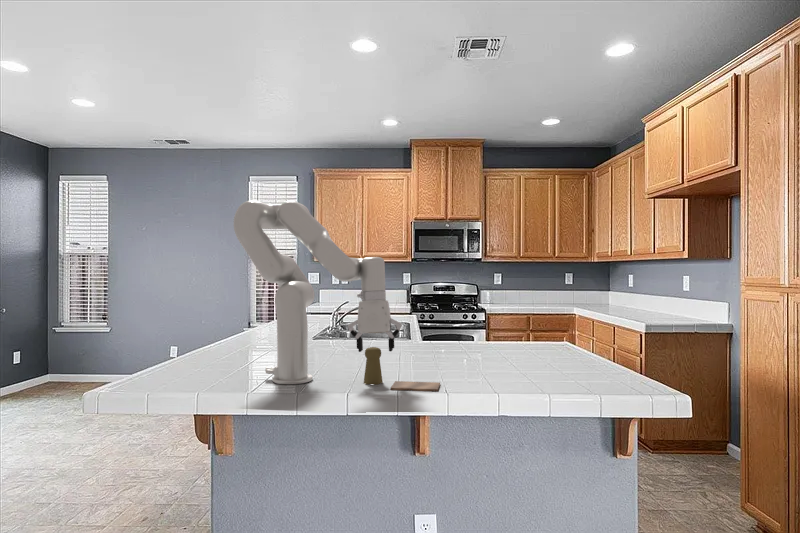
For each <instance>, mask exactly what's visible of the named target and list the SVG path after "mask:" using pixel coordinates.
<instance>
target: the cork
mask: <svg viewBox="0 0 800 533" xmlns="http://www.w3.org/2000/svg"><path fill="white" fill-rule="evenodd" d="M364 356H365V358H366V360H365V362H366V363H365V369H364V375H363V376H364V378H363V384H364V383H366V384H365V385H369V384H376V385H381V384H383V383H384V382H383V376H382V367H381V366H382V365H381V360H380V359H381V356H382V350H381V348H379V347H376V346H375V347H374V346H372V347H371V346H370V347H367V348H366V349H365V351H364ZM380 383H381V384H380Z"/></svg>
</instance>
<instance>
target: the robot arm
mask: <svg viewBox="0 0 800 533" xmlns="http://www.w3.org/2000/svg"><path fill="white" fill-rule="evenodd" d="M233 229H234V230H233V231H234V234H235V236H236V238H237V240H238V241H239V243H240V245H241V246H242V248H243V249H244V251H245V253H246V254H247V255H248V257H249V259H250V260H251V262H252V263H253V265H254V266H255V267H256V269H257V271H258V272H259V273H260V276H261V277H262V279H263V280H265V281H266V282H268V283H271V284H277V286H278V288H277V290H276V292H275V295H274V305H275V312H276V314H275V315H276V333H277V336H276V337H277V340H276V341H277V342H276V346H277V347H276V348H277V350H276V352H277V353H276V356H277V359H276V362H277V364H276V366H274V367H272V366H266V367H265V369H264V370H265V374H267V375H271V374H272V375H273V377H272V379H271V380H272V383H275V384H278V385H302V384H305V383H308V382H312V380H313V375H312V374H309V373H308V371H309V370H308V369H309V368H308V366H309V365H308V364H309V363H308V351H309V350H308V349H309V348H308V345H309V344H308V337H309V336H308V334H309V333H308V314H307V308H308V307H310V306H311V305H312V304H313V302H314V300H315V291H314V288H313V286H312V284H311V282H310V281H309V279H308V278H307V276H306V274H304V272H303V270H302V269H301V268H300V266H299V264H298V263H297V262H296V260H295V259H293V258H292V257H291V256H289V255H287V254H283V253H280V252H279V250H278V249H277V247H276V246H275V244H274V243H273V242H272V240H271V239H270V237H269V236H268V235H267V234H266V233H265V231H264V230H287V231H289V232H290V233H291V234H292V235H293V236H294V237H295V238H296V239H297V240H298V241H299V242H300V243H301V244H302V245H303V246H304V247H306V248H307V249H308V251H309V252H310V253H311V255H312V256H313V257H314V258H315V259H316V261H317V262H319V264H320V265H322V267H323V268H324V269H325V270H327V272H328V273H329V274H331V275H332V277H333V278H335V279H337V280H338V281H341V282H344V283H345V282H346V283H347V282H354V281H359V280H360V281H361V283H360V284H361V292H358V293H356V294H357V296H356V297H357V298H360V299H361V301H359V302H358V307H357V308H358V309H357V319H356V320H354V321H352V322H350V323H349V324H348V325H347V328H348V330H349V331H350V334H351V335H352V336H353V337H354V338H355V340H356V349H357V350H358V353H362V351H364V346H363V344H364V343H363V337H362V336H363V334H387V336H388V337H389V338H388V352H392V351H393V349H395V337H396V336H397V335H398V334H399V332H401V329H402V328H403V324H402V322H399V321H397V320H395V319H393V318H392V317H391V310H390V304H389V300H387V297H386V272H385V270H386V269H385V268H386V265H385V259H384V258H382V257H380V256H371V257H370V256H369V257H364V258H359V257H358V258H356V257H350V256H348V255H347V254H346V252H344V251H343V250H342V248H340V247H339V246H338V245H337V244H336V243H335V242H334V240H332V238H331V236H330V233H329V231H328V230H327V228H326V227H325V226H324V225H322V223H320V221H318V220H317V219H316V218H315V217H314V216H313V215H312V214H311V212H310V210H309V208H308V207H307V206H306V205H304V204H302V203H300V202H298V201H295V200H287V201H284V202H282V203H281V204H279V203H278V204H273V203H272V204H271V203H265V202H262V201H259V200H253V199H251V200H246V201H244V202H242V203H241V204H240V205H239V206H238V207H237V209H236V211H235V213H234V217H233ZM263 229H264V230H263ZM392 325H394V326H396V328H395V330H394V331H393V330H392ZM355 326H357V331H358V332H357V331H356V330H355V328H354V327H355Z"/></svg>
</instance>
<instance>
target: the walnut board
mask: <svg viewBox="0 0 800 533" xmlns="http://www.w3.org/2000/svg"><path fill="white" fill-rule="evenodd" d="M440 386H441V382H435V381H433V382H432V381H431V382H430V381H404V380H403V381H402V380H401V381H399V380H397V381H396V380H395V381H394V382H393V384H392V385H391V386H390V391H411V390H412V392H413V391H415V392H416V391H418V392H439V389H440Z"/></svg>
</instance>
